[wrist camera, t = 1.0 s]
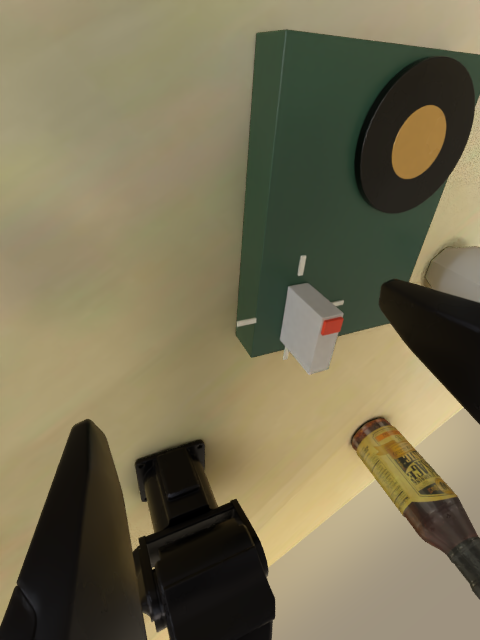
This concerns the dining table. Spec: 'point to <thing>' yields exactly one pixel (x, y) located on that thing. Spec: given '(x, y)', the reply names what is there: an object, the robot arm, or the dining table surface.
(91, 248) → the dining table surface
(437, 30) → the dining table surface
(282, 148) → the stove
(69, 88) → the dining table surface
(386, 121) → the burner
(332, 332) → the stove knob
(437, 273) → the salt shaker
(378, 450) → the sauce bottle
